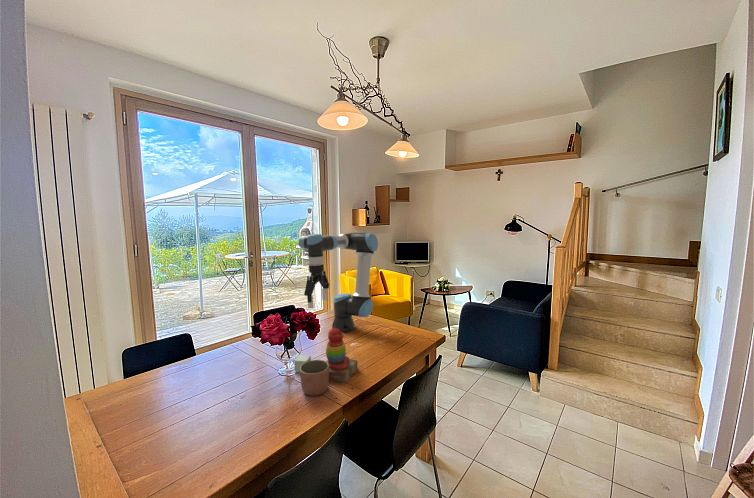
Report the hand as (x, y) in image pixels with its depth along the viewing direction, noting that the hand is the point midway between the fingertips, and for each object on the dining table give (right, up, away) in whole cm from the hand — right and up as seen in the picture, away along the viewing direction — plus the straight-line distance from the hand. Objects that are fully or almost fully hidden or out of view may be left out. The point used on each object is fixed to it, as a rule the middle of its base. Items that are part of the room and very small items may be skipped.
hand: (318, 304), depth 160 cm
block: (-6, -31, -9) cm, 33 cm away
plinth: (+12, -31, -14) cm, 36 cm away
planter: (+4, -33, -27) cm, 43 cm away
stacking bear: (+12, -26, -14) cm, 32 cm away
